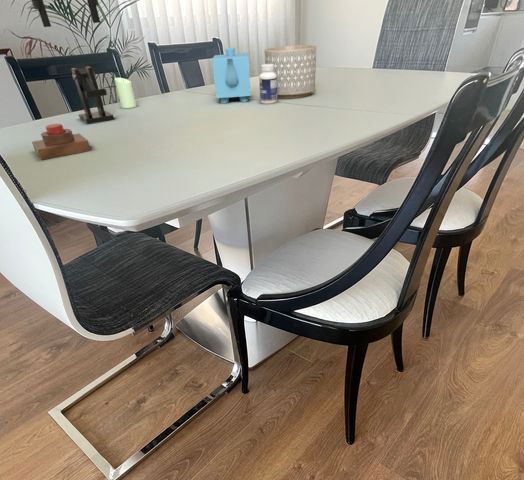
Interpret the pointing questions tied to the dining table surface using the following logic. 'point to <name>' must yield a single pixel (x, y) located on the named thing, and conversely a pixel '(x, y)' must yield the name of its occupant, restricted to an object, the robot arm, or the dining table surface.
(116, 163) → the dining table surface
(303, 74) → the planter
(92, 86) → the lever
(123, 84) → the candle
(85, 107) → the bracket
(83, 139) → the button block
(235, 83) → the blue teardrop bottle box
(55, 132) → the button
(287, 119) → the dining table surface
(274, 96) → the pill bottle
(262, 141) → the dining table surface
